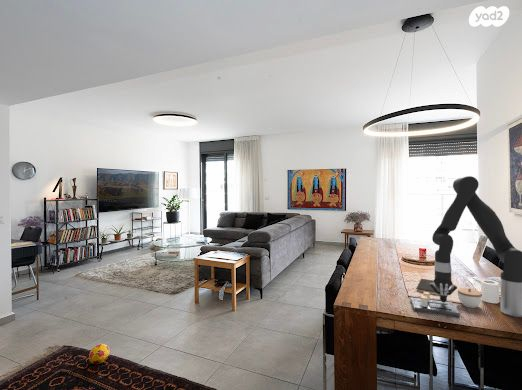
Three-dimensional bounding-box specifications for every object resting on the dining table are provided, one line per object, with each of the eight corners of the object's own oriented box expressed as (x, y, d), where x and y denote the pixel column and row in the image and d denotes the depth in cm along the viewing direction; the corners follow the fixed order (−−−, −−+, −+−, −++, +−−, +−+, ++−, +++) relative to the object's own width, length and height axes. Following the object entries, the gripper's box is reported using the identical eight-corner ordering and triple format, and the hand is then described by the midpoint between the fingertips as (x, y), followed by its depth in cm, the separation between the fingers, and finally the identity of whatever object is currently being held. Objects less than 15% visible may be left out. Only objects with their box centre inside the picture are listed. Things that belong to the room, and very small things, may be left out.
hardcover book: (416, 292, 172) (416, 288, 172) (421, 281, 191) (421, 278, 191) (446, 297, 163) (446, 293, 163) (449, 286, 181) (449, 283, 181)
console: (452, 305, 150) (452, 301, 150) (459, 317, 137) (459, 312, 137) (410, 300, 158) (410, 296, 158) (414, 311, 145) (414, 306, 145)
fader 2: (426, 304, 146) (426, 296, 146) (427, 307, 143) (427, 298, 143) (420, 303, 147) (420, 295, 147) (421, 306, 144) (421, 298, 144)
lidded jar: (471, 301, 156) (471, 284, 156) (487, 309, 145) (487, 291, 145) (452, 301, 156) (452, 285, 155) (467, 310, 145) (467, 292, 145)
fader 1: (428, 300, 152) (428, 292, 152) (429, 302, 149) (429, 294, 149) (423, 299, 153) (423, 291, 153) (424, 301, 150) (424, 293, 150)
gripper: (455, 269, 149) (455, 300, 149) (427, 267, 154) (427, 297, 154) (459, 273, 142) (459, 306, 142) (429, 270, 147) (430, 302, 147)
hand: (443, 301), depth 148 cm, fingers closed
